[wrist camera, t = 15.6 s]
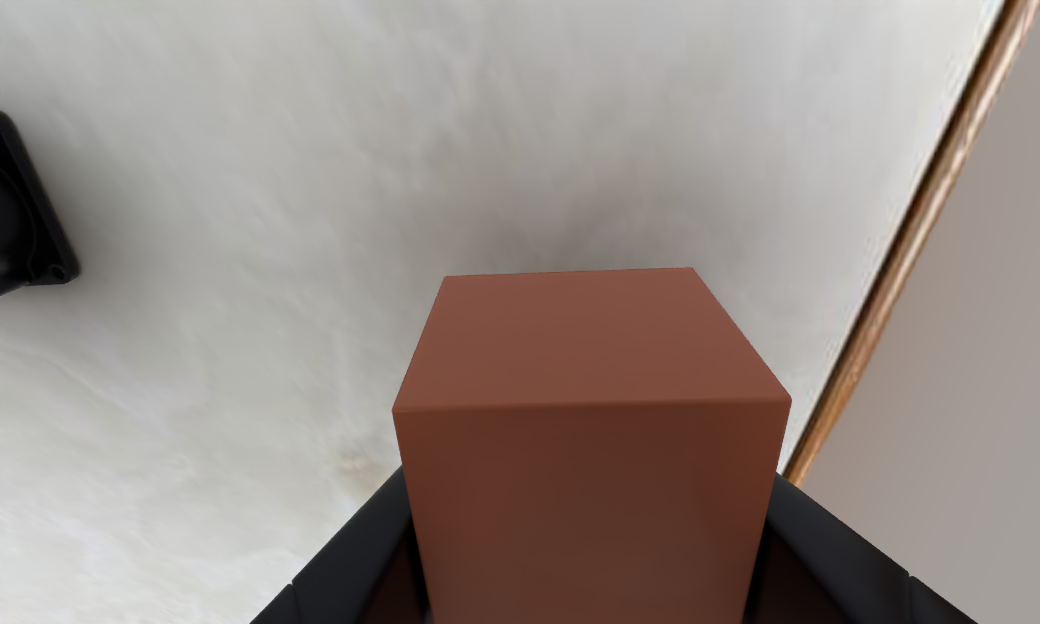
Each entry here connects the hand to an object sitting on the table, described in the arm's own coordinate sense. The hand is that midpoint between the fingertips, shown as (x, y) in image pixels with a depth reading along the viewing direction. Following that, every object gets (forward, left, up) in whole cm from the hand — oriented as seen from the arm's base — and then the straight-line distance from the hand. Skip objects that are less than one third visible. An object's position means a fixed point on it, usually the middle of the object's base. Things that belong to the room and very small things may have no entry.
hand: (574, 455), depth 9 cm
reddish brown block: (0, 0, -2) cm, 2 cm away
